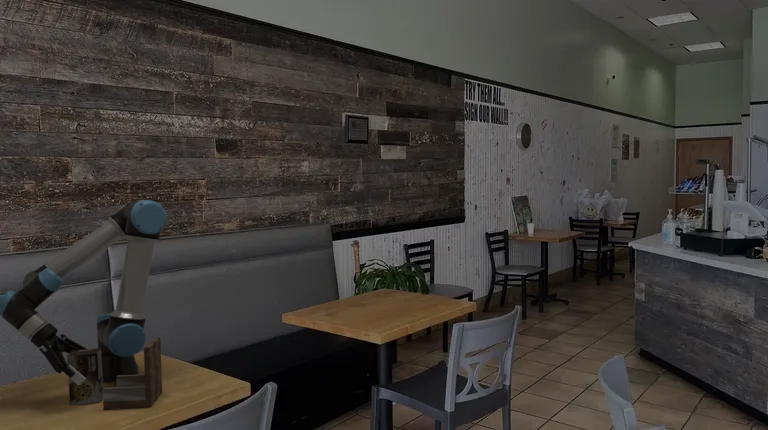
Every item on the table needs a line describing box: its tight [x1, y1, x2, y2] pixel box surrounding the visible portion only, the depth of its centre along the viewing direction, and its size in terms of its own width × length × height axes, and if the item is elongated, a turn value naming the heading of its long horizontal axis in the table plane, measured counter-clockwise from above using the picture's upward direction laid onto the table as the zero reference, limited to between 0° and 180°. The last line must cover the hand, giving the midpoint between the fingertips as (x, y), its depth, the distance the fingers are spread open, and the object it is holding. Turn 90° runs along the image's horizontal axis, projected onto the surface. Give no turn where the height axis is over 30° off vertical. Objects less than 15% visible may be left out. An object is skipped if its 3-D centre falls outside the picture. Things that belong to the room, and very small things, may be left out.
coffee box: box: [66, 347, 104, 406], centre depth 195 cm, size 9×6×16 cm
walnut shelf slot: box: [102, 337, 163, 411], centre depth 194 cm, size 14×14×18 cm
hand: (90, 375), depth 195 cm, fingers open, 13 cm apart
